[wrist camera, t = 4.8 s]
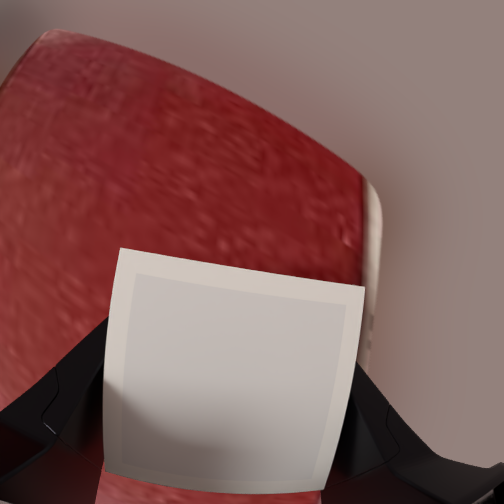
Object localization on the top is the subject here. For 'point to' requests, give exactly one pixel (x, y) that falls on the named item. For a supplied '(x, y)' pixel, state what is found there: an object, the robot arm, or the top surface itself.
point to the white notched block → (226, 375)
